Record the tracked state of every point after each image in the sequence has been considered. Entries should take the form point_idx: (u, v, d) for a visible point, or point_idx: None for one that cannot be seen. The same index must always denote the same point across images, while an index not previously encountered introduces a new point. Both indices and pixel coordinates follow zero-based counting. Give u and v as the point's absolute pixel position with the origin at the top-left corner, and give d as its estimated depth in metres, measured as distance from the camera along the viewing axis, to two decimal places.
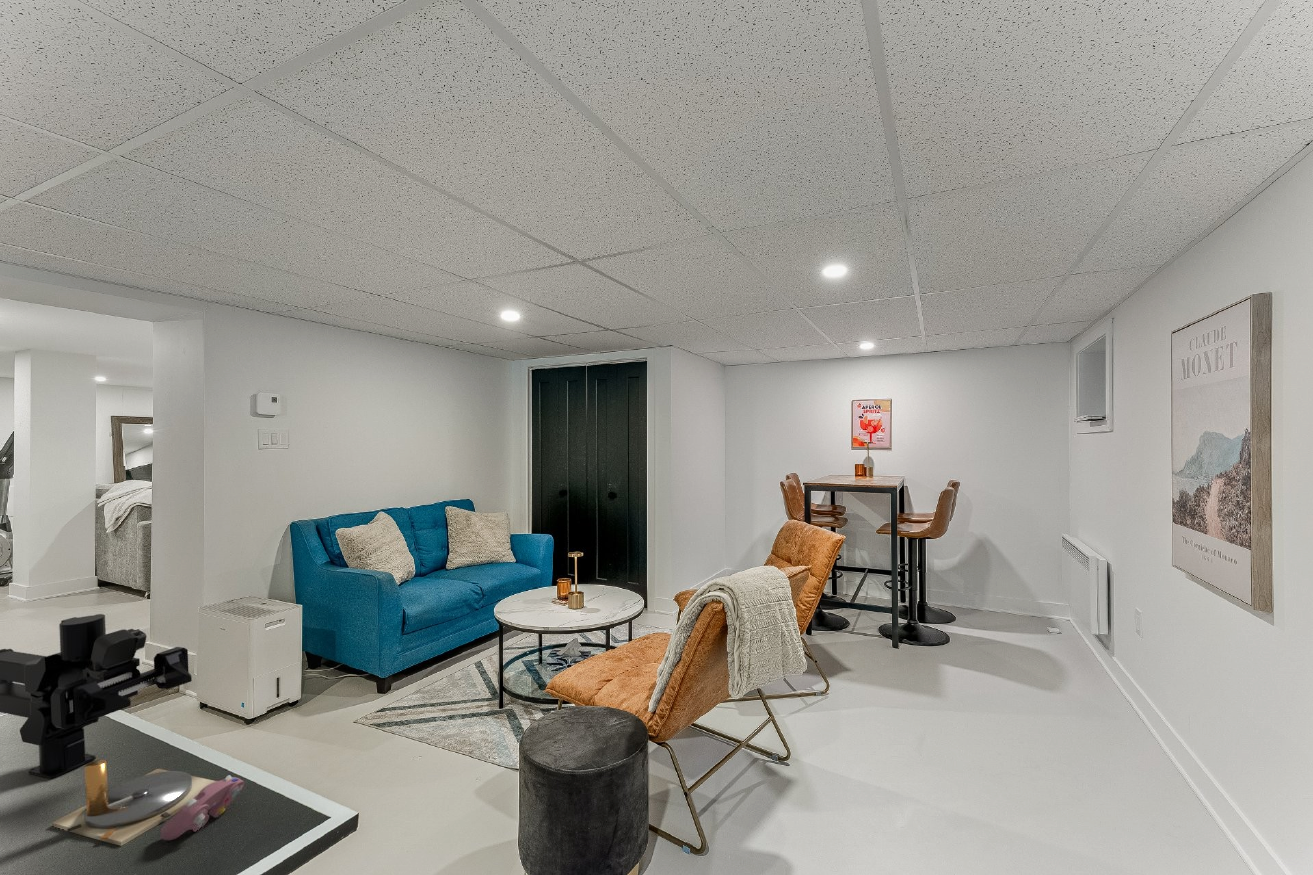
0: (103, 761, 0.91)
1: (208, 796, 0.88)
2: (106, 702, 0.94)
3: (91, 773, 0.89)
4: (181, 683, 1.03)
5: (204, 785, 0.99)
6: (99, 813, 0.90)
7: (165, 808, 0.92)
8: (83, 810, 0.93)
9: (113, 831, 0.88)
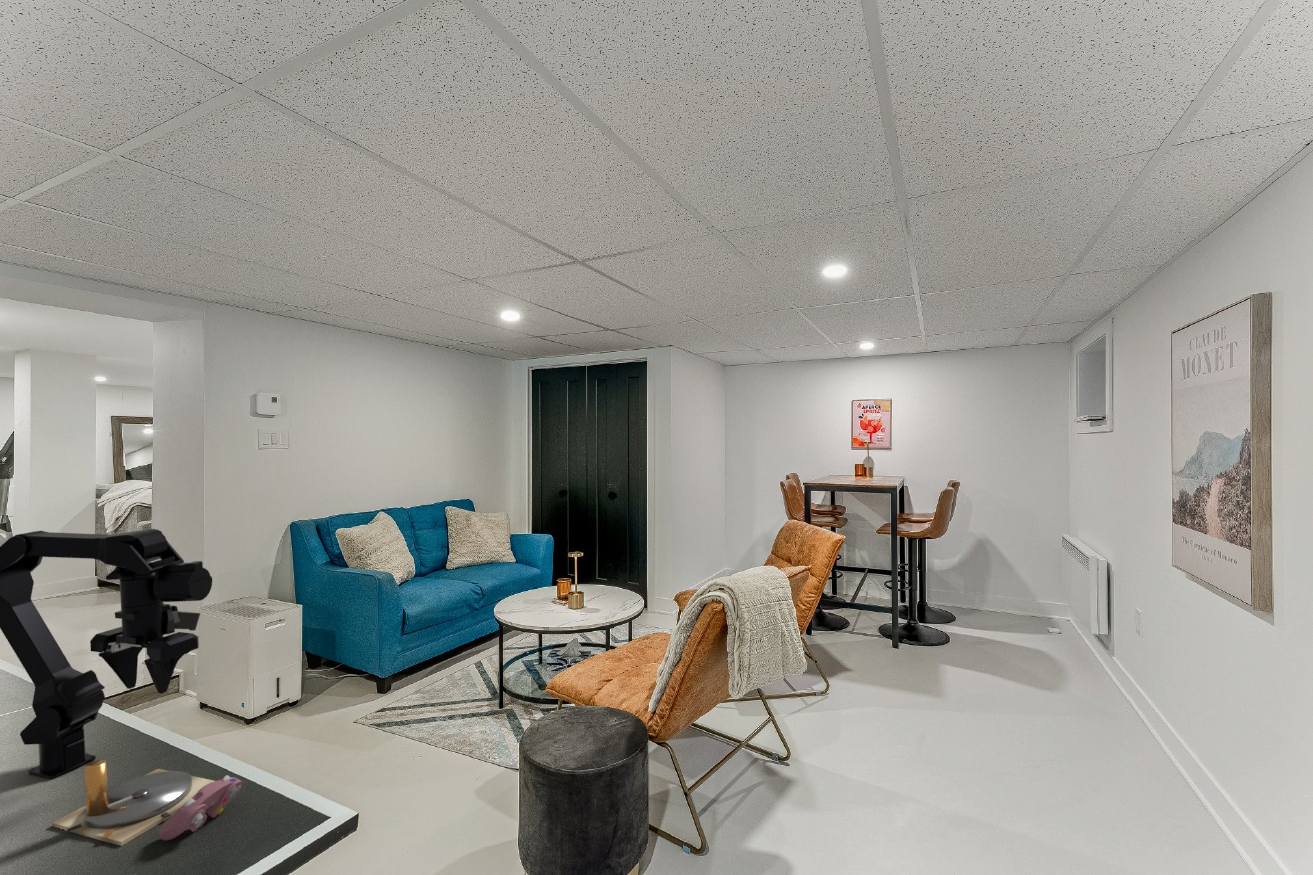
0: (103, 761, 0.91)
1: (206, 796, 0.88)
2: (167, 674, 1.05)
3: (91, 773, 0.89)
4: (125, 679, 1.07)
5: (204, 785, 0.99)
6: (99, 813, 0.90)
7: (165, 808, 0.92)
8: (83, 810, 0.93)
9: (113, 831, 0.88)
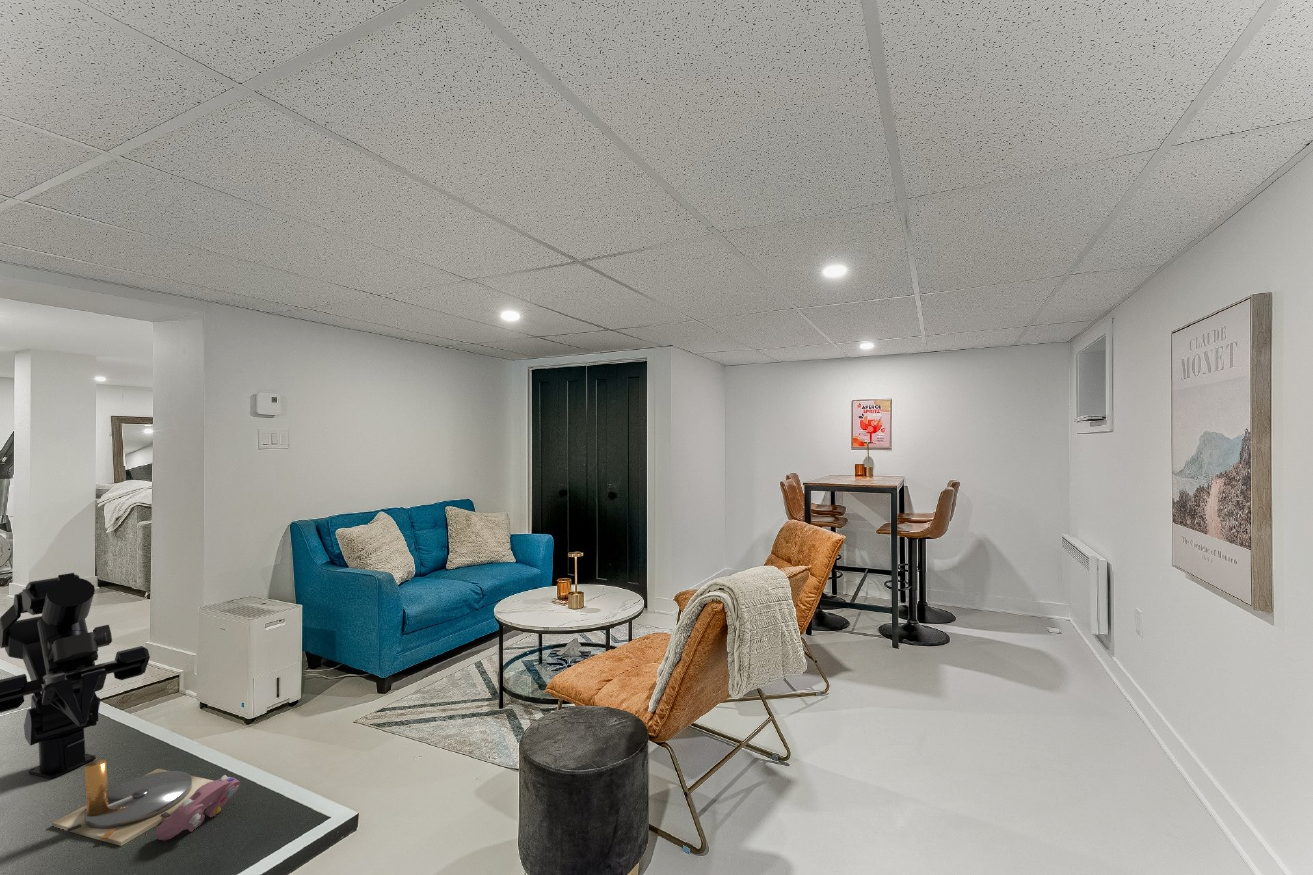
0: (103, 761, 0.91)
1: (204, 796, 0.88)
2: (68, 708, 0.96)
3: (91, 773, 0.89)
4: None
5: None
6: (99, 813, 0.90)
7: (165, 808, 0.92)
8: (83, 810, 0.93)
9: (113, 831, 0.88)
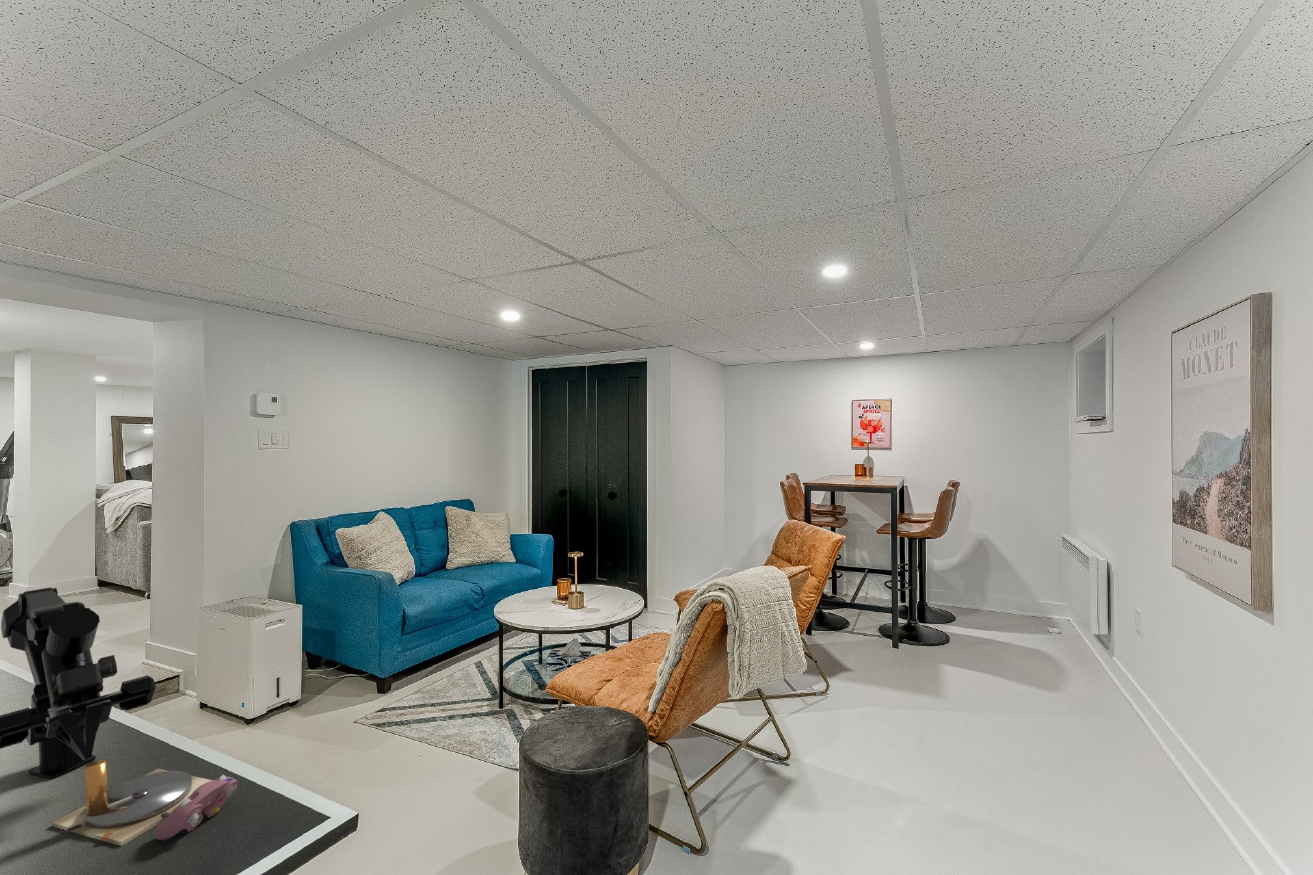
0: (103, 761, 0.91)
1: (202, 795, 0.88)
2: (72, 742, 0.94)
3: (91, 773, 0.89)
4: None
5: None
6: (99, 813, 0.90)
7: (165, 808, 0.92)
8: (83, 810, 0.93)
9: (113, 831, 0.88)
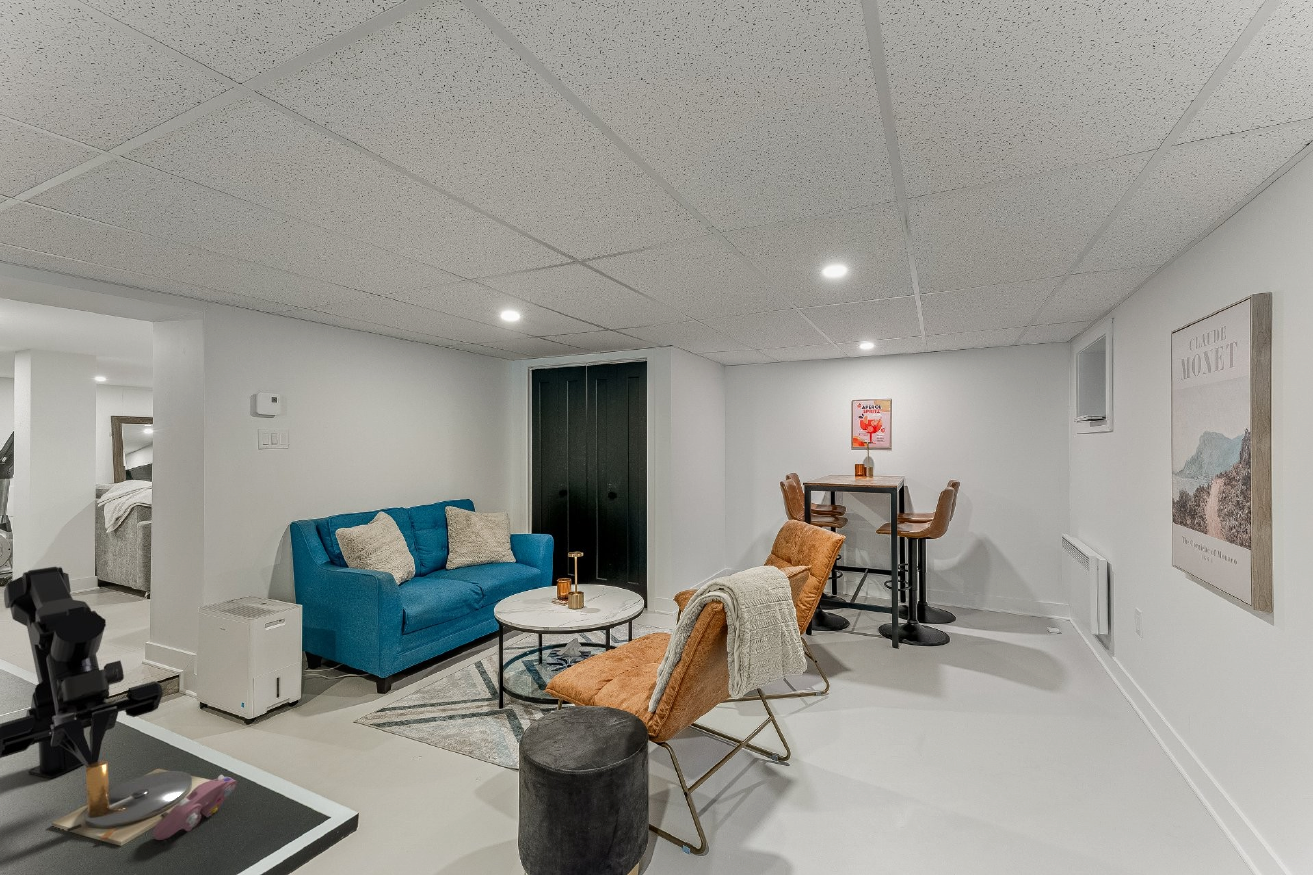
0: (104, 762, 0.91)
1: (200, 795, 0.88)
2: (77, 750, 0.91)
3: (93, 774, 0.89)
4: None
5: None
6: (102, 814, 0.90)
7: (170, 805, 0.93)
8: (83, 810, 0.93)
9: (113, 831, 0.88)
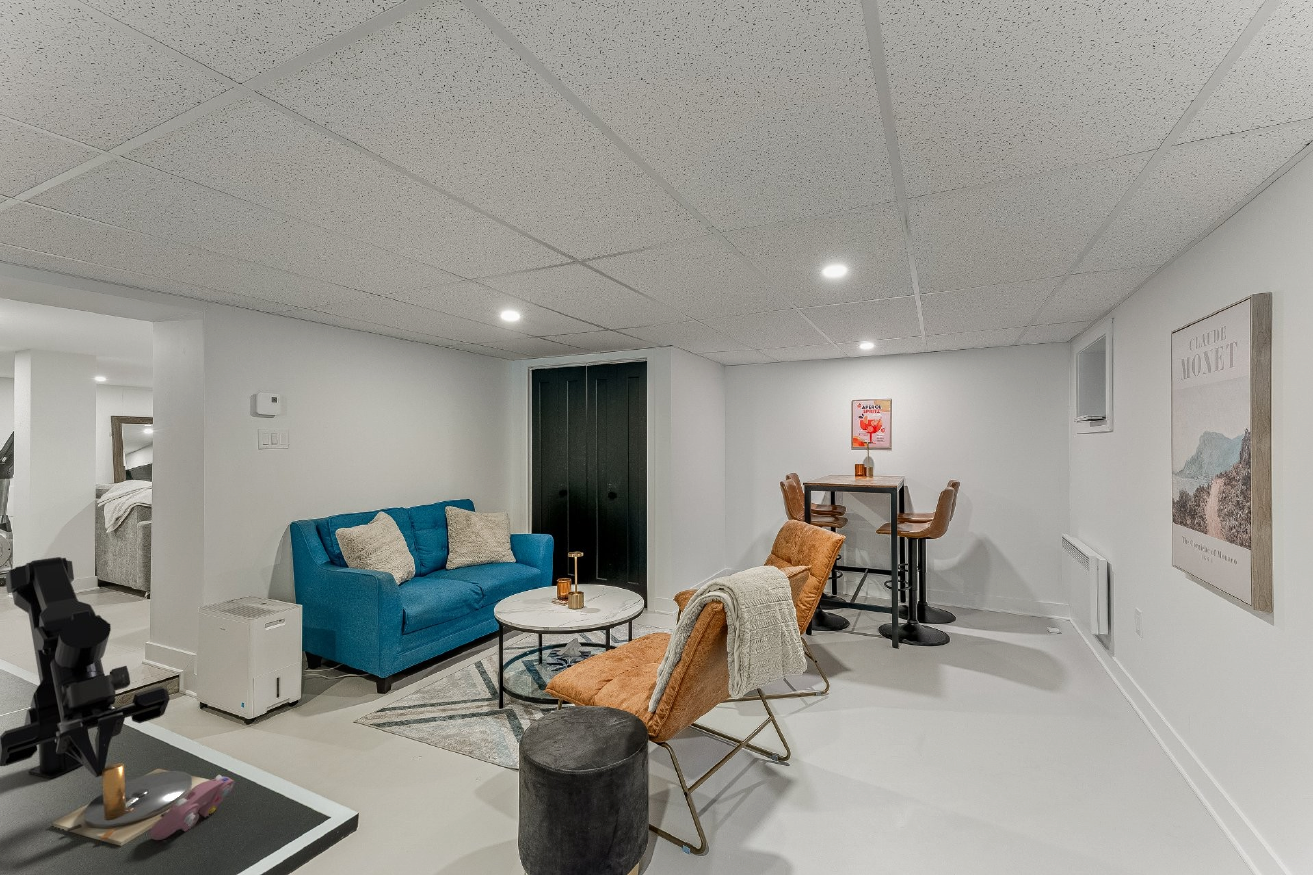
0: (118, 764, 0.90)
1: (198, 795, 0.89)
2: (84, 758, 0.89)
3: (116, 774, 0.89)
4: None
5: None
6: (124, 813, 0.90)
7: (189, 789, 0.97)
8: (83, 810, 0.93)
9: (113, 831, 0.88)
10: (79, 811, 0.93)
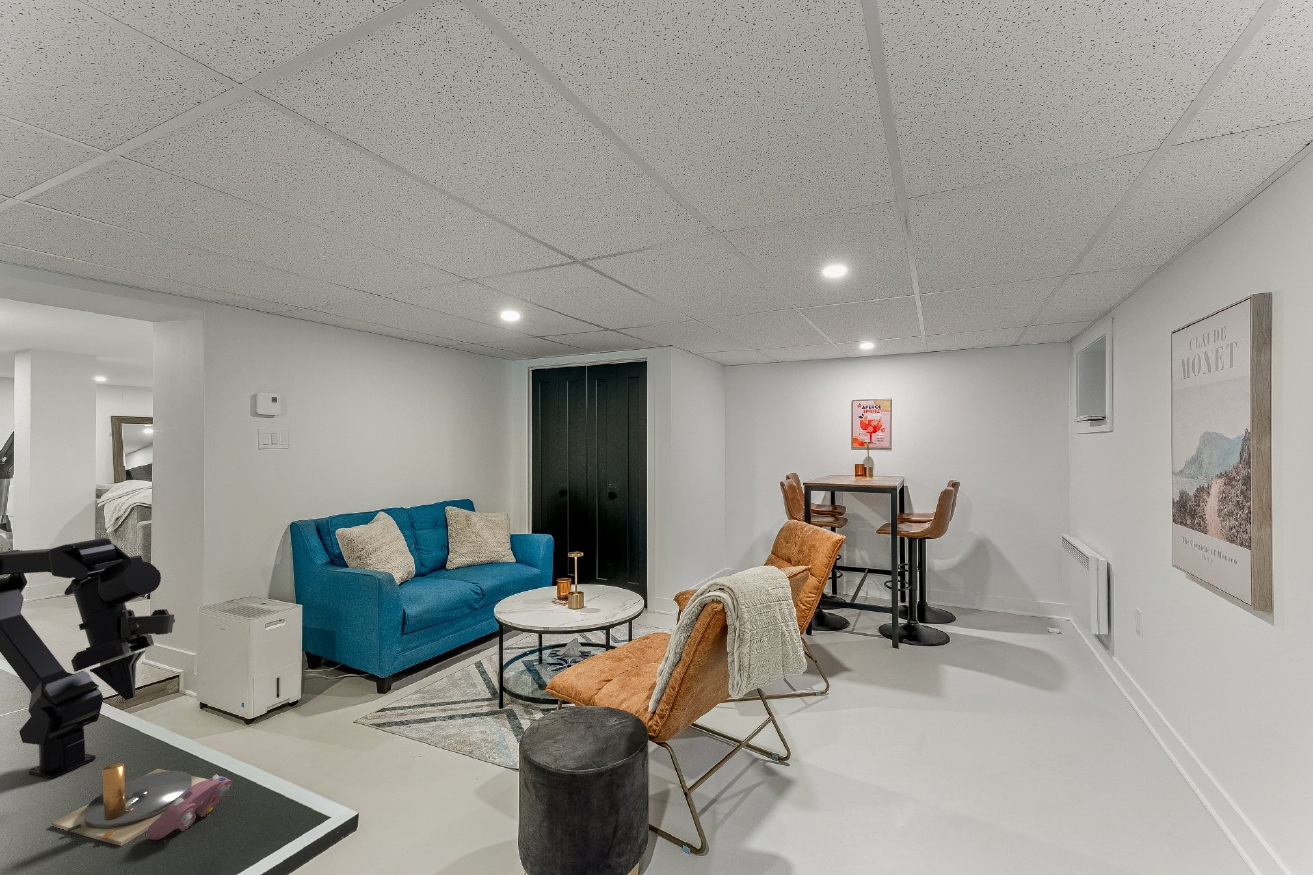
0: (118, 764, 0.90)
1: (195, 795, 0.89)
2: (124, 680, 1.02)
3: (116, 774, 0.89)
4: None
5: None
6: (124, 813, 0.90)
7: None
8: (83, 810, 0.93)
9: (113, 831, 0.88)
10: (79, 811, 0.93)
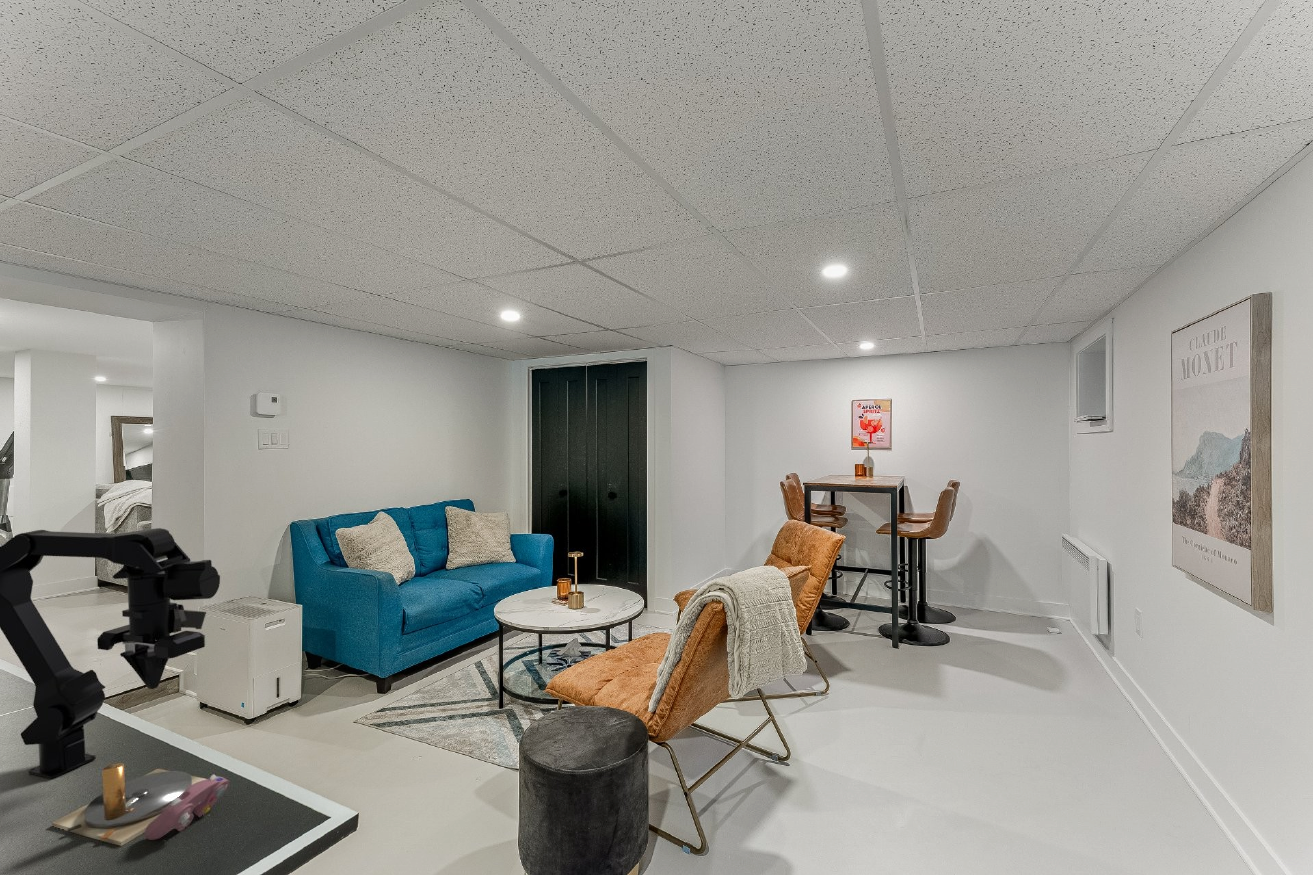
0: (118, 764, 0.90)
1: (193, 795, 0.89)
2: (159, 670, 1.07)
3: (116, 774, 0.89)
4: None
5: None
6: (124, 813, 0.90)
7: None
8: (83, 810, 0.93)
9: (113, 831, 0.88)
10: (79, 811, 0.93)
